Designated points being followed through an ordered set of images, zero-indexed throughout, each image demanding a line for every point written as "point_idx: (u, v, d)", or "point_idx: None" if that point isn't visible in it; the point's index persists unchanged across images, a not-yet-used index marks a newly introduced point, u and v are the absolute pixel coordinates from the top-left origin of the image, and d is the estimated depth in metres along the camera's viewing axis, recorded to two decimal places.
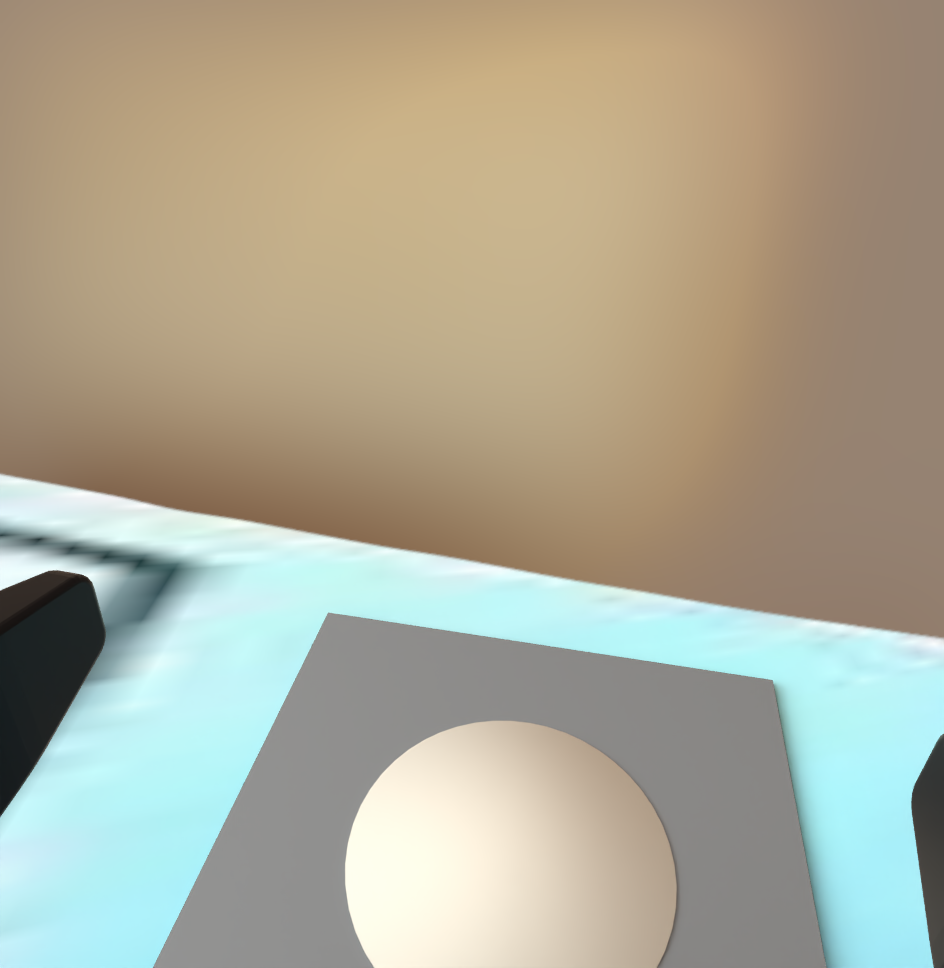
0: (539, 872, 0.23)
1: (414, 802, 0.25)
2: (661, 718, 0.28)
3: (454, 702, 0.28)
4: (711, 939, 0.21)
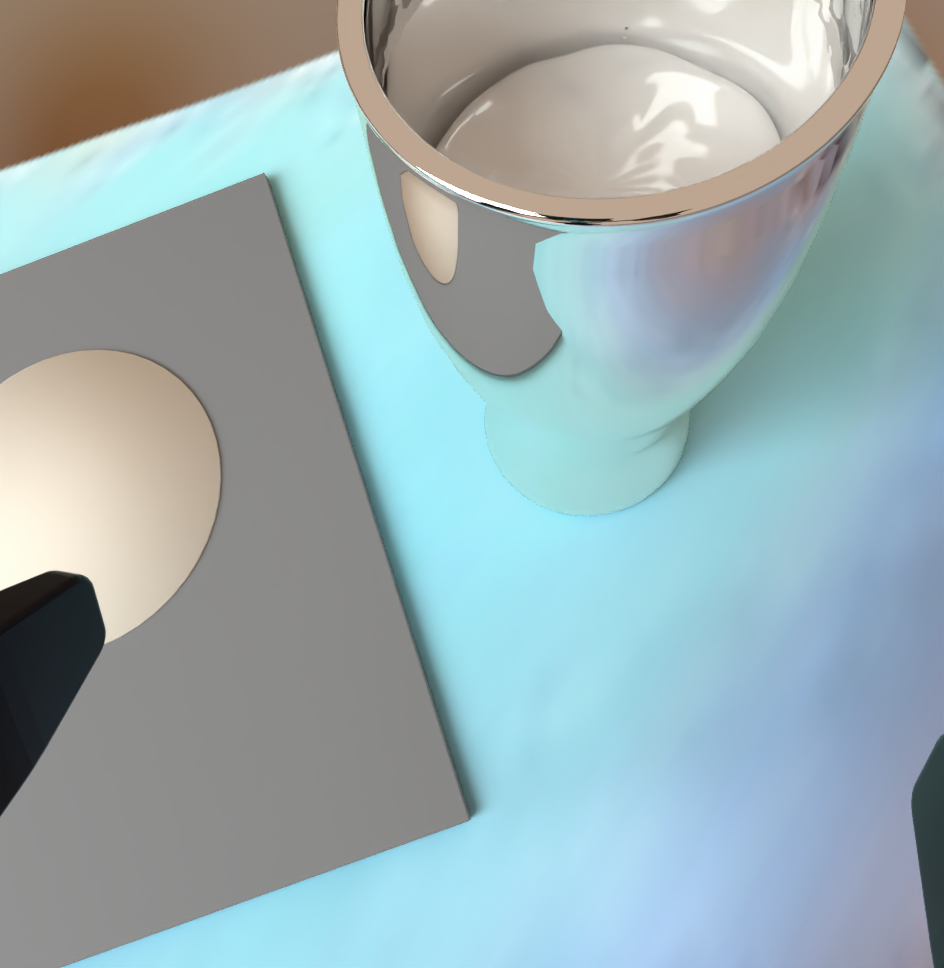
0: (98, 496, 0.24)
1: None
2: (166, 280, 0.26)
3: None
4: (254, 467, 0.24)
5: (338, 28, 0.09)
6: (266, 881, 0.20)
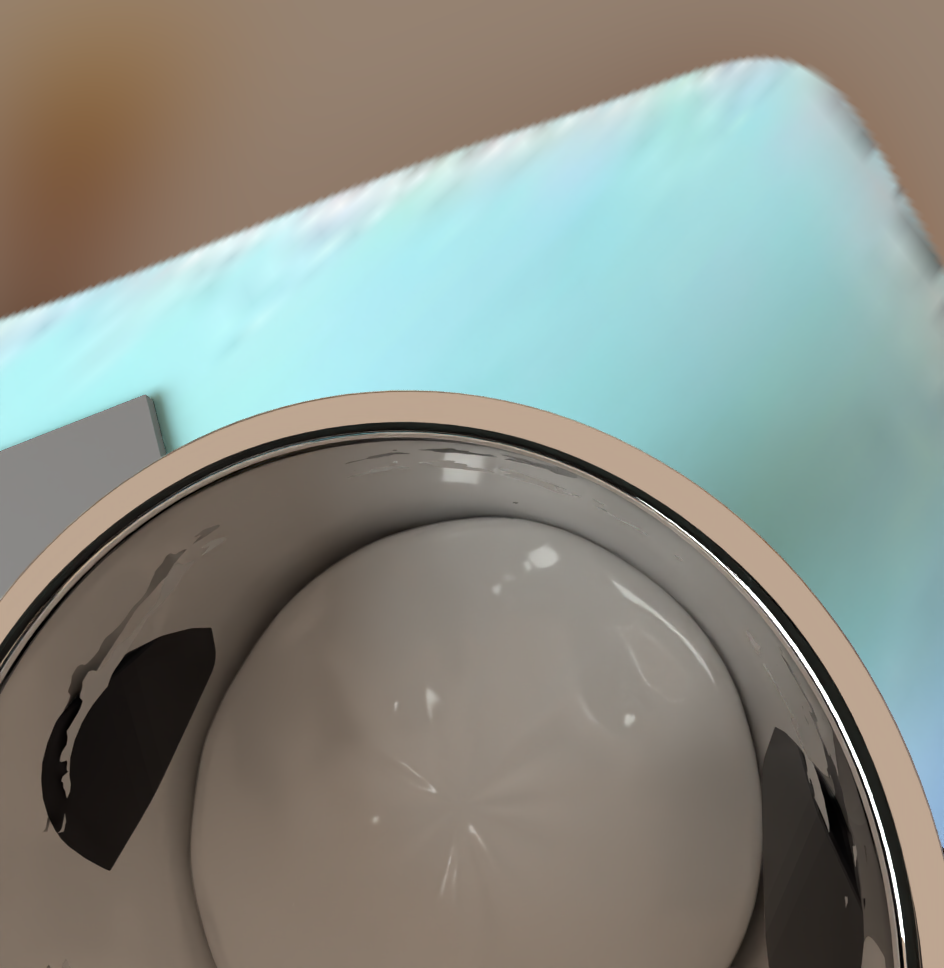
0: None
1: None
2: (26, 533, 0.21)
3: None
4: None
5: None
6: None
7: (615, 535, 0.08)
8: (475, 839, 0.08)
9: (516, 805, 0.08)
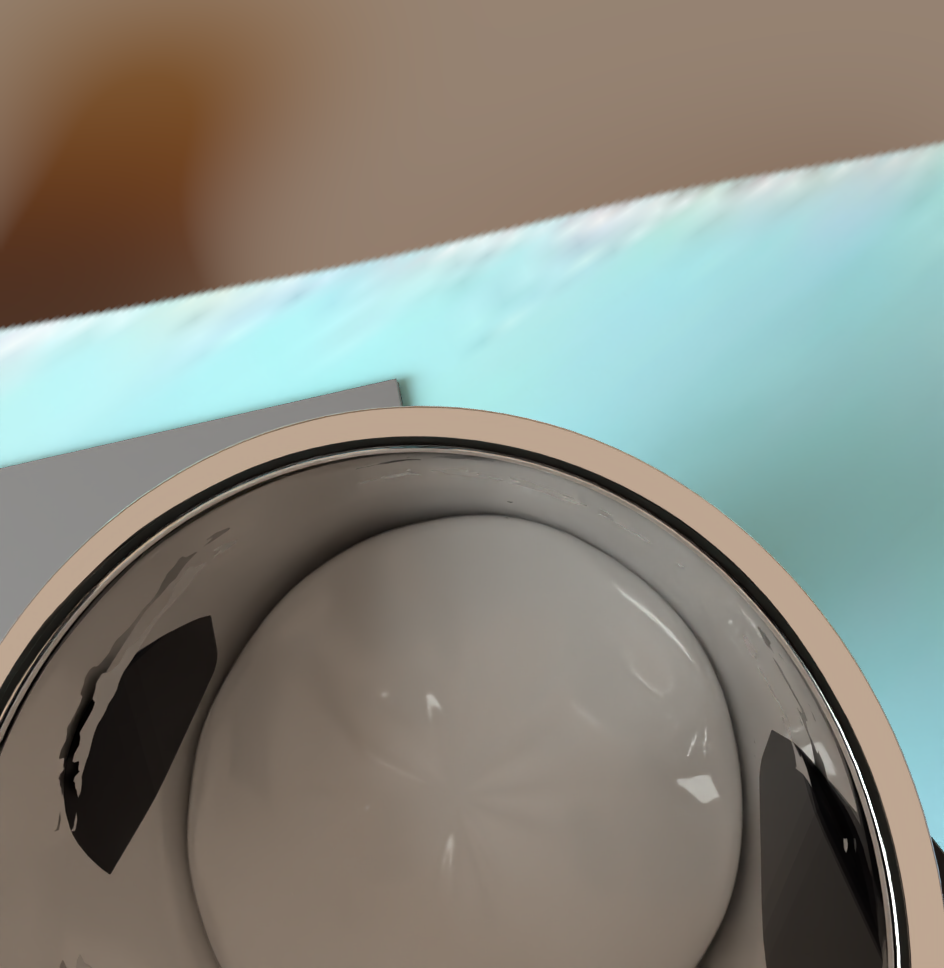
0: None
1: None
2: None
3: (34, 572, 0.23)
4: None
5: None
6: None
7: (610, 537, 0.08)
8: (471, 828, 0.08)
9: (511, 795, 0.08)
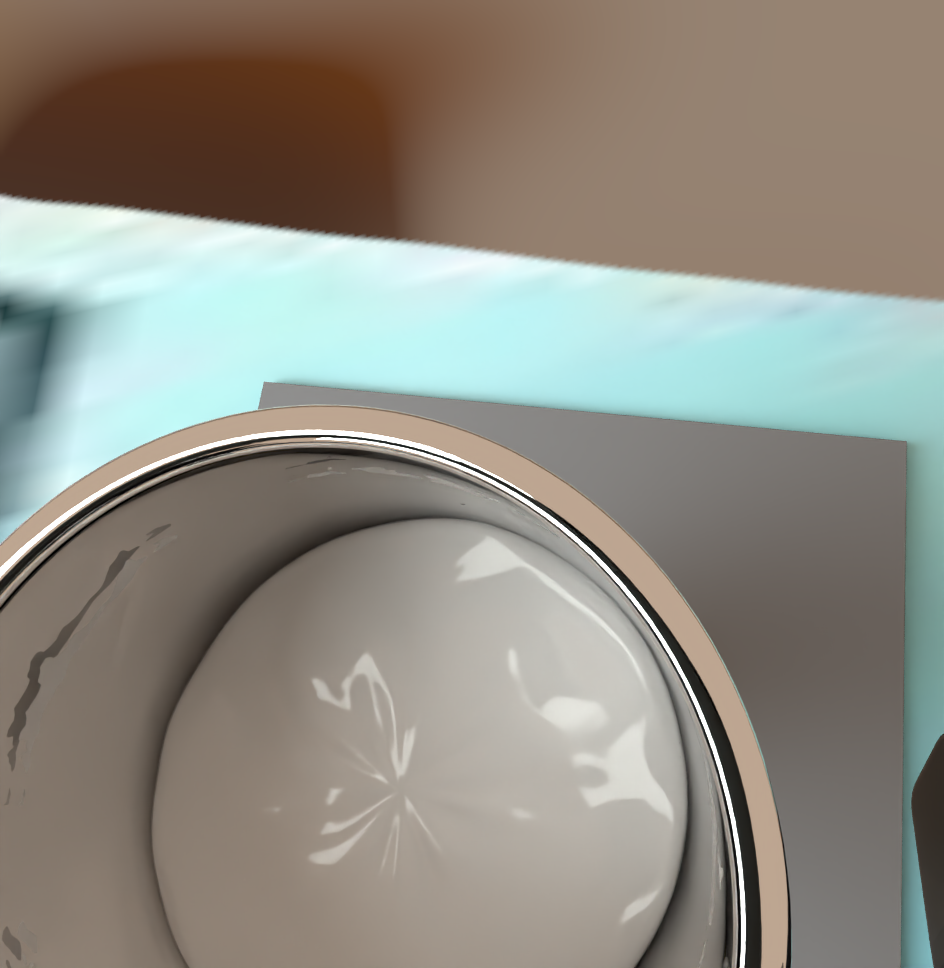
0: None
1: None
2: (730, 523, 0.20)
3: None
4: None
5: None
6: None
7: (549, 537, 0.09)
8: (414, 820, 0.09)
9: (454, 788, 0.09)
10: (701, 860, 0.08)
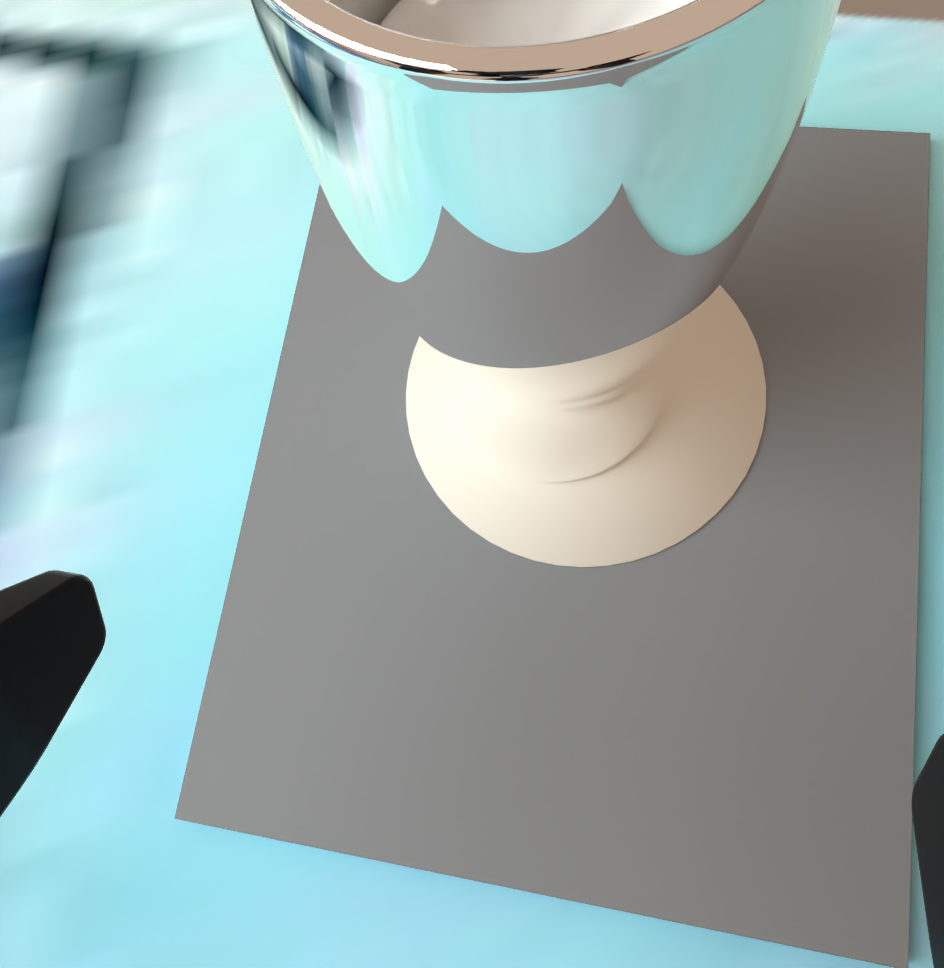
0: None
1: None
2: (769, 206, 0.22)
3: None
4: (797, 460, 0.20)
5: None
6: (652, 904, 0.18)
7: None
8: None
9: None
10: None
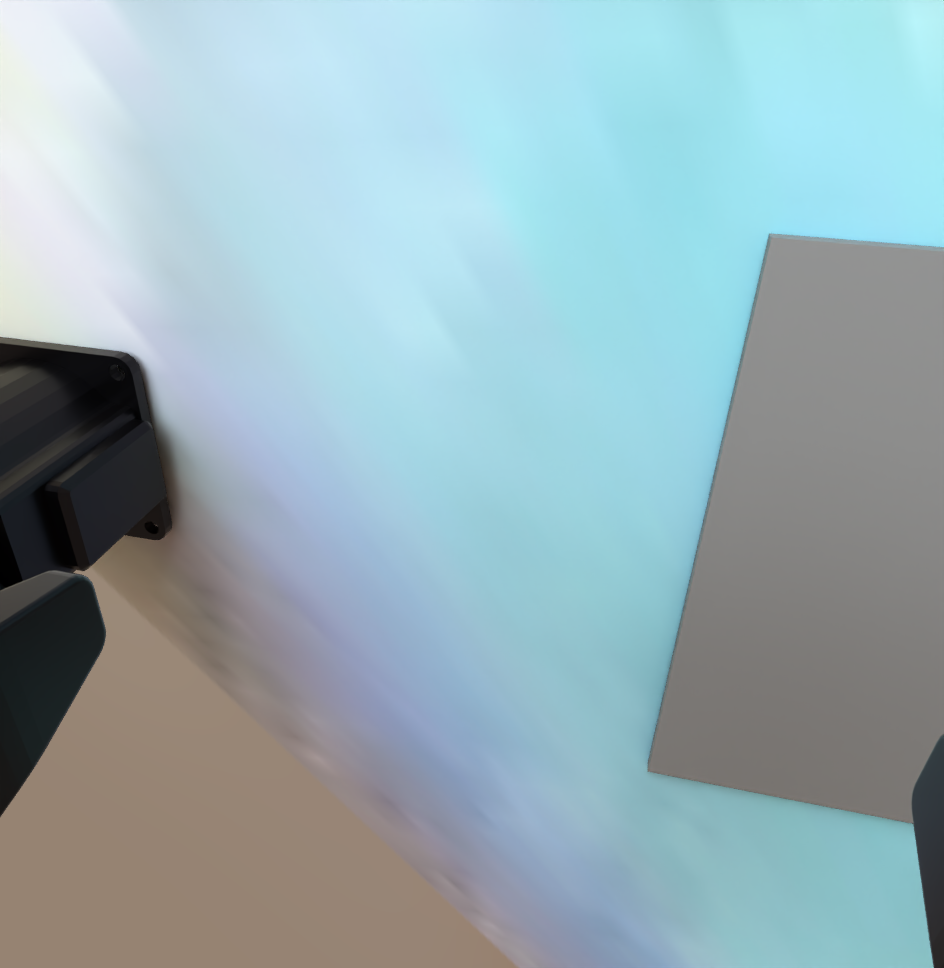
0: None
1: None
2: None
3: None
4: None
5: None
6: (685, 650, 0.23)
7: None
8: None
9: None
10: None
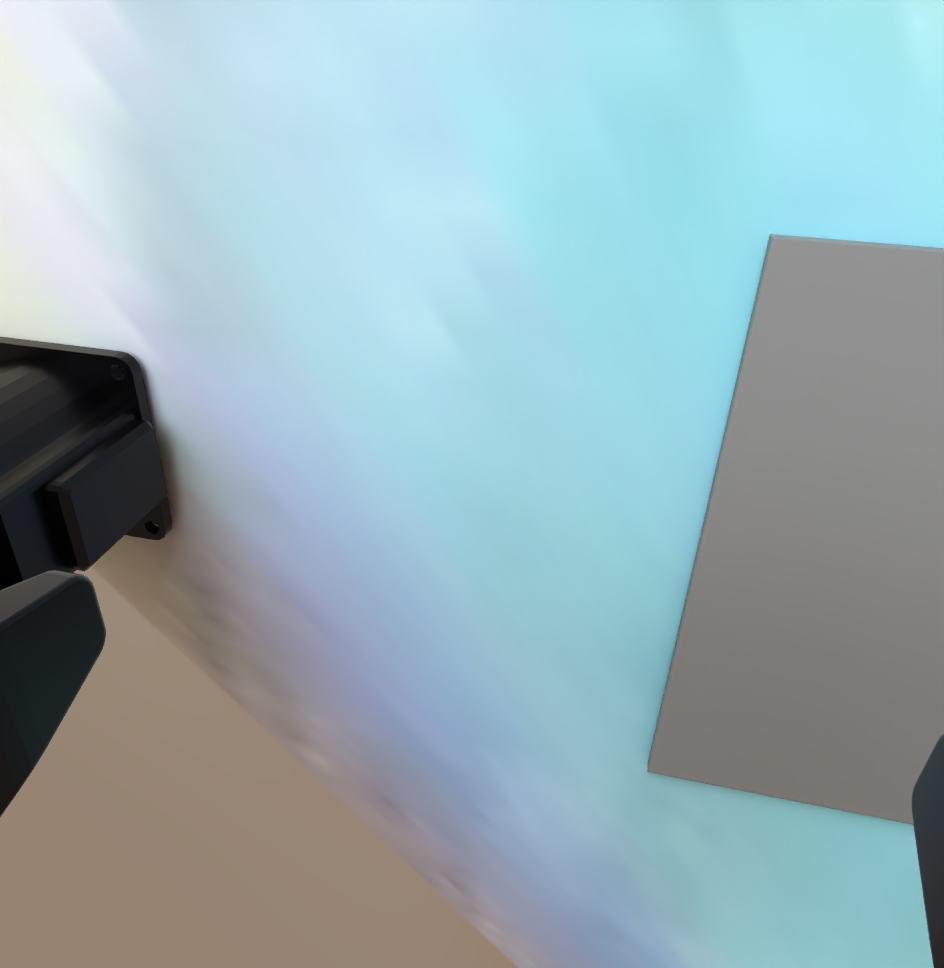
0: None
1: None
2: None
3: None
4: None
5: None
6: (685, 650, 0.23)
7: None
8: None
9: None
10: None
